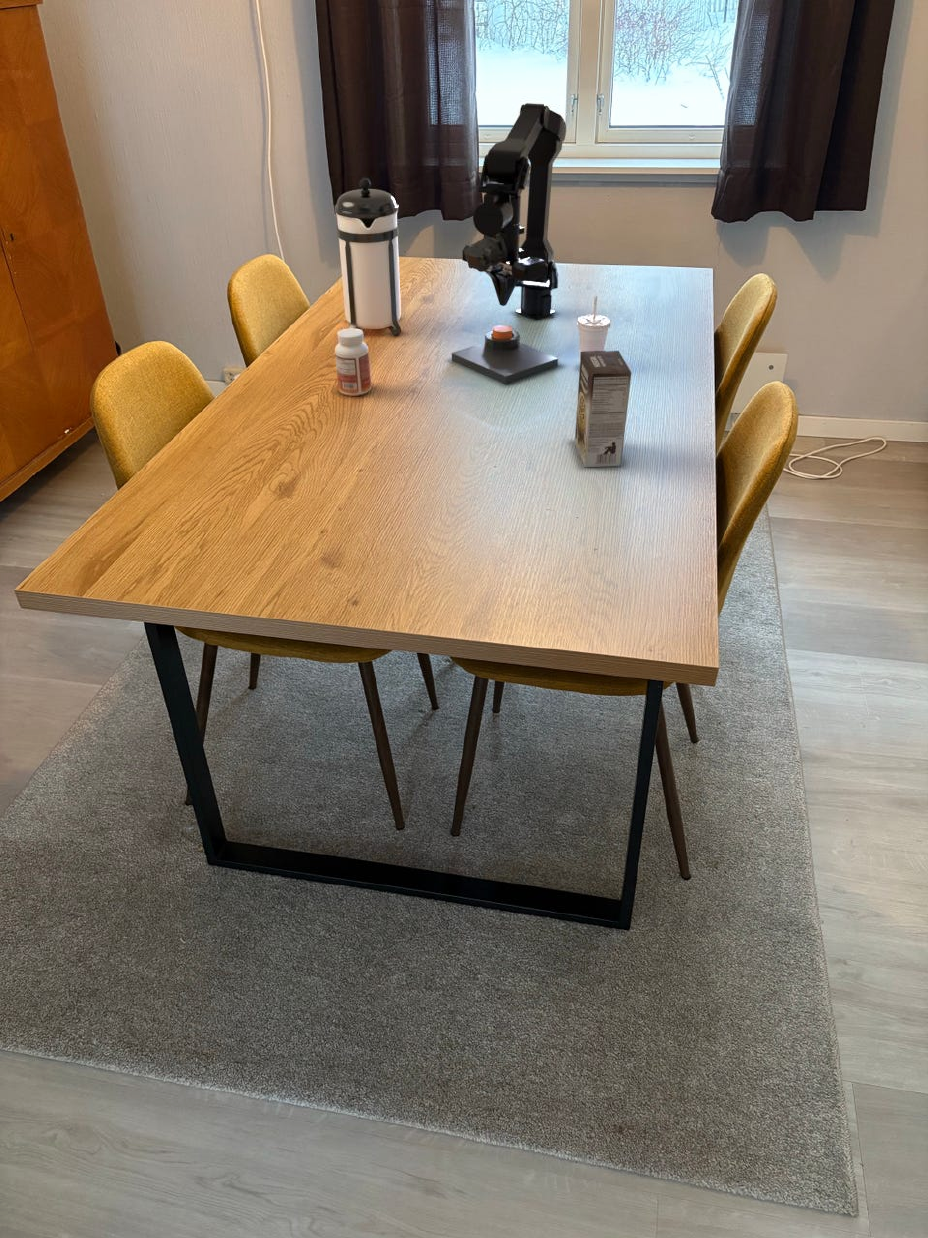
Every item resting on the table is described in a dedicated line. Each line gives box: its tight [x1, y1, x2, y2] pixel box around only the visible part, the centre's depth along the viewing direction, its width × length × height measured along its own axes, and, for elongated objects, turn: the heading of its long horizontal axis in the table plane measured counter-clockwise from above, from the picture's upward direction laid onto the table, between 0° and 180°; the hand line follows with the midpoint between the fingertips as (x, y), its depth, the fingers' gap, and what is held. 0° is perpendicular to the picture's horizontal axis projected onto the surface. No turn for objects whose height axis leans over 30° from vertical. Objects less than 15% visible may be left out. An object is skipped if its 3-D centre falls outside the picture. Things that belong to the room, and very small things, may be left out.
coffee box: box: [574, 350, 632, 468], centre depth 151 cm, size 9×6×16 cm
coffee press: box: [334, 177, 402, 336], centre depth 195 cm, size 17×16×30 cm
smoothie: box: [576, 295, 612, 360], centre depth 180 cm, size 6×6×14 cm
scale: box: [451, 329, 559, 386], centre depth 186 cm, size 16×14×4 cm
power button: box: [492, 324, 514, 339], centre depth 190 cm, size 4×4×2 cm
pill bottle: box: [334, 327, 372, 397], centre depth 173 cm, size 6×6×11 cm
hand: (503, 305), depth 186 cm, fingers closed
